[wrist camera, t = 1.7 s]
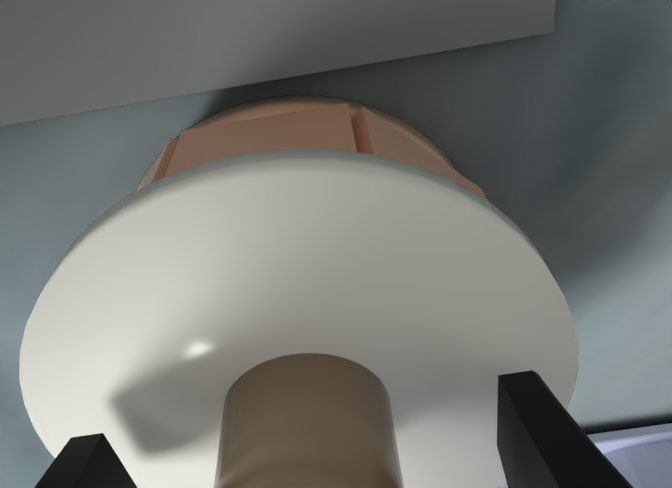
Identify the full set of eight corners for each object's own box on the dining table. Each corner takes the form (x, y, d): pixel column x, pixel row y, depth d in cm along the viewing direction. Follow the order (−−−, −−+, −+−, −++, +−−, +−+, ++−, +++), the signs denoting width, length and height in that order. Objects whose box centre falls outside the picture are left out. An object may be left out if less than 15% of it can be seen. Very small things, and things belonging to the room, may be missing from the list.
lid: (588, 96, 9) (831, 316, 5) (545, 486, 15) (636, 724, 11) (-81, 206, 9) (-368, 492, 5) (145, 541, 15) (93, 789, 11)
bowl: (474, 63, 12) (539, 146, 9) (477, 354, 18) (519, 474, 14) (64, 132, 13) (-16, 236, 9) (187, 397, 18) (163, 523, 15)
